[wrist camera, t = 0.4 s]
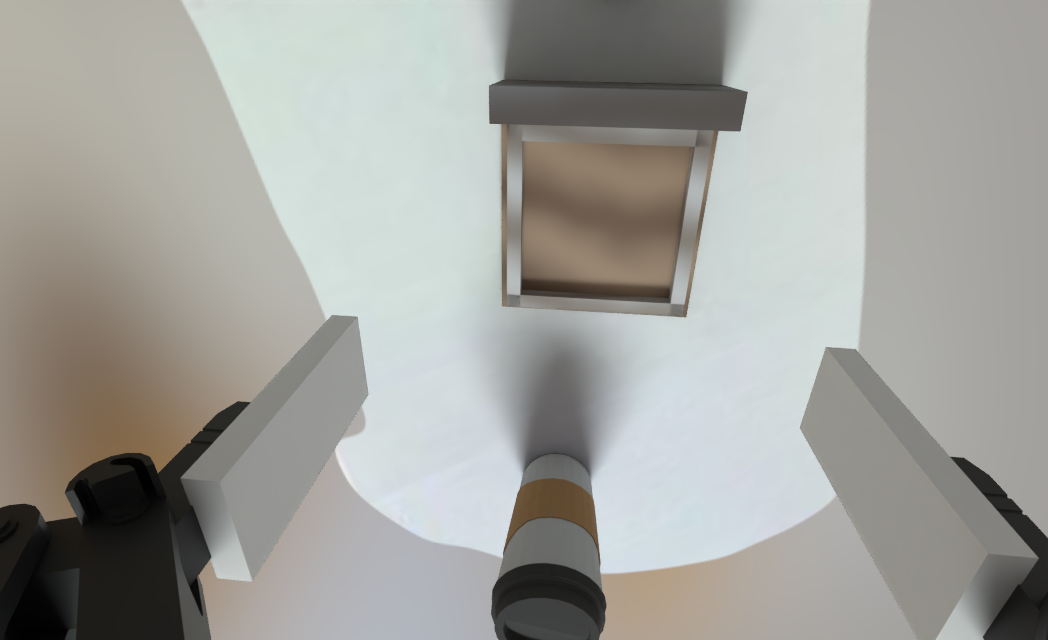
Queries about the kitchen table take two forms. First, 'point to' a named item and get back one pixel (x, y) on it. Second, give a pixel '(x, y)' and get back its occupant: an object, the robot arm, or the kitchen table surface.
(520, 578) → the coffee cup
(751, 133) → the kitchen table surface
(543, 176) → the brown flat tray-like piece
